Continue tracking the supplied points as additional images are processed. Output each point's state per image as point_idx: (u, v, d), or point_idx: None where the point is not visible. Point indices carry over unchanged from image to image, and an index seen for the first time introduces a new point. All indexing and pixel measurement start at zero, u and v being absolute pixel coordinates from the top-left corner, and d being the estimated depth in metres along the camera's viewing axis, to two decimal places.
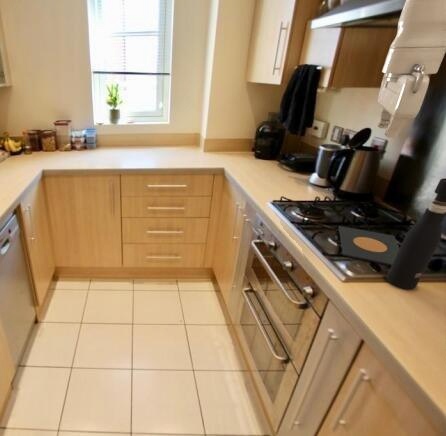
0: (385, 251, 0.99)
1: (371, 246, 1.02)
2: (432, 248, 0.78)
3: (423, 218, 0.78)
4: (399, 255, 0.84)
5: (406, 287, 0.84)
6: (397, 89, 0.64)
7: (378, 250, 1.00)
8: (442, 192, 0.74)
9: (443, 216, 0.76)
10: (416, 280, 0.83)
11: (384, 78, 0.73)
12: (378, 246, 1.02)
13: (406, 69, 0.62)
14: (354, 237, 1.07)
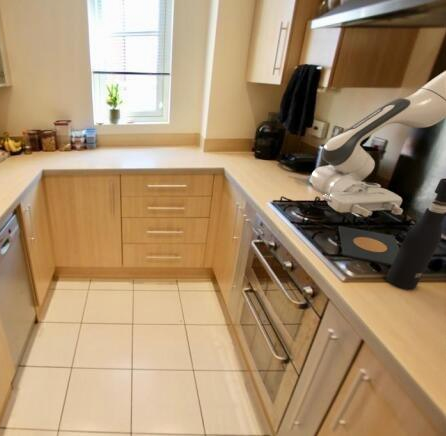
0: (385, 251, 0.99)
1: (371, 246, 1.02)
2: (432, 248, 0.78)
3: (423, 218, 0.78)
4: (399, 255, 0.84)
5: (406, 287, 0.84)
6: None
7: (378, 250, 1.00)
8: (442, 192, 0.74)
9: (443, 216, 0.76)
10: (416, 280, 0.83)
11: None
12: (378, 246, 1.02)
13: None
14: (354, 237, 1.07)
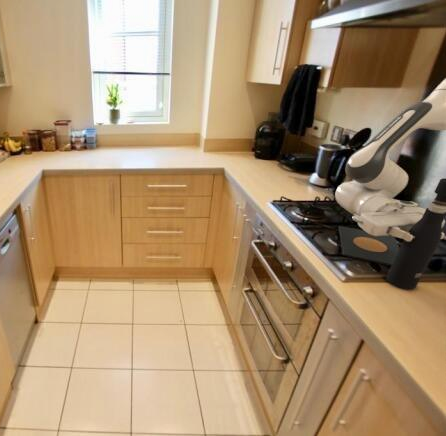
0: (385, 251, 0.99)
1: (371, 246, 1.02)
2: (432, 248, 0.78)
3: (423, 218, 0.78)
4: (399, 255, 0.84)
5: (406, 287, 0.84)
6: None
7: (378, 250, 1.00)
8: (442, 192, 0.74)
9: (443, 216, 0.76)
10: (416, 280, 0.83)
11: None
12: (378, 246, 1.02)
13: None
14: (354, 237, 1.07)
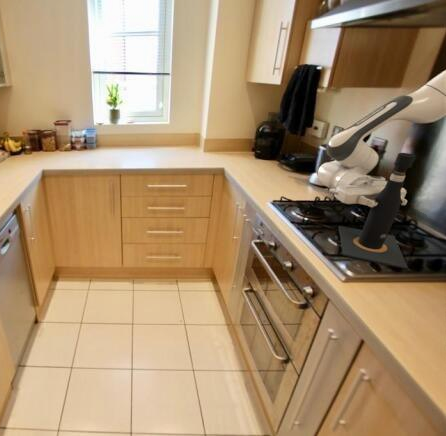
0: (385, 251, 0.99)
1: None
2: (393, 212, 0.94)
3: (385, 187, 0.94)
4: (368, 219, 1.00)
5: (373, 247, 1.00)
6: None
7: (378, 250, 1.00)
8: (399, 164, 0.89)
9: (401, 184, 0.91)
10: (381, 240, 0.99)
11: None
12: None
13: None
14: (354, 237, 1.07)
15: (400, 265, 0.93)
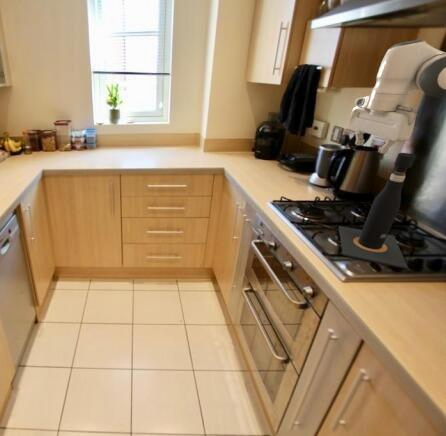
0: (385, 251, 0.99)
1: None
2: (393, 212, 0.94)
3: (386, 187, 0.94)
4: (368, 219, 1.00)
5: (373, 247, 1.00)
6: (386, 121, 0.92)
7: (378, 250, 1.00)
8: (399, 164, 0.89)
9: (401, 184, 0.91)
10: (381, 240, 0.99)
11: (355, 110, 1.02)
12: None
13: (392, 108, 0.90)
14: (354, 237, 1.07)
15: (400, 265, 0.93)
